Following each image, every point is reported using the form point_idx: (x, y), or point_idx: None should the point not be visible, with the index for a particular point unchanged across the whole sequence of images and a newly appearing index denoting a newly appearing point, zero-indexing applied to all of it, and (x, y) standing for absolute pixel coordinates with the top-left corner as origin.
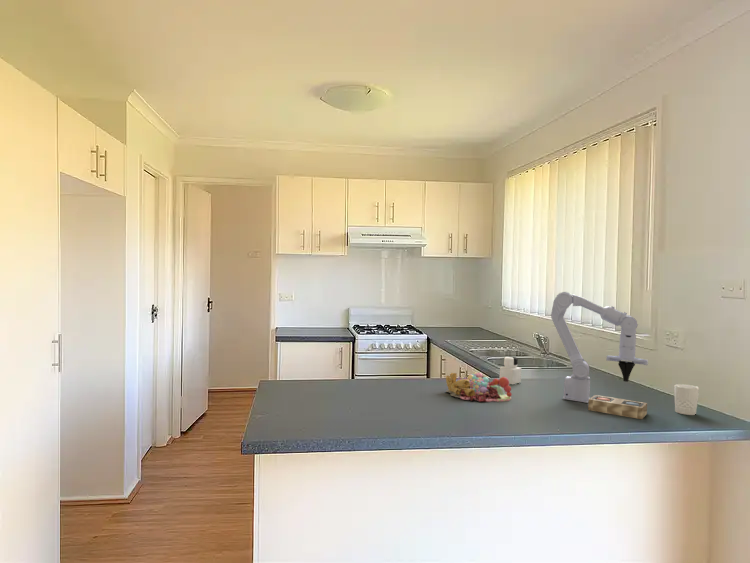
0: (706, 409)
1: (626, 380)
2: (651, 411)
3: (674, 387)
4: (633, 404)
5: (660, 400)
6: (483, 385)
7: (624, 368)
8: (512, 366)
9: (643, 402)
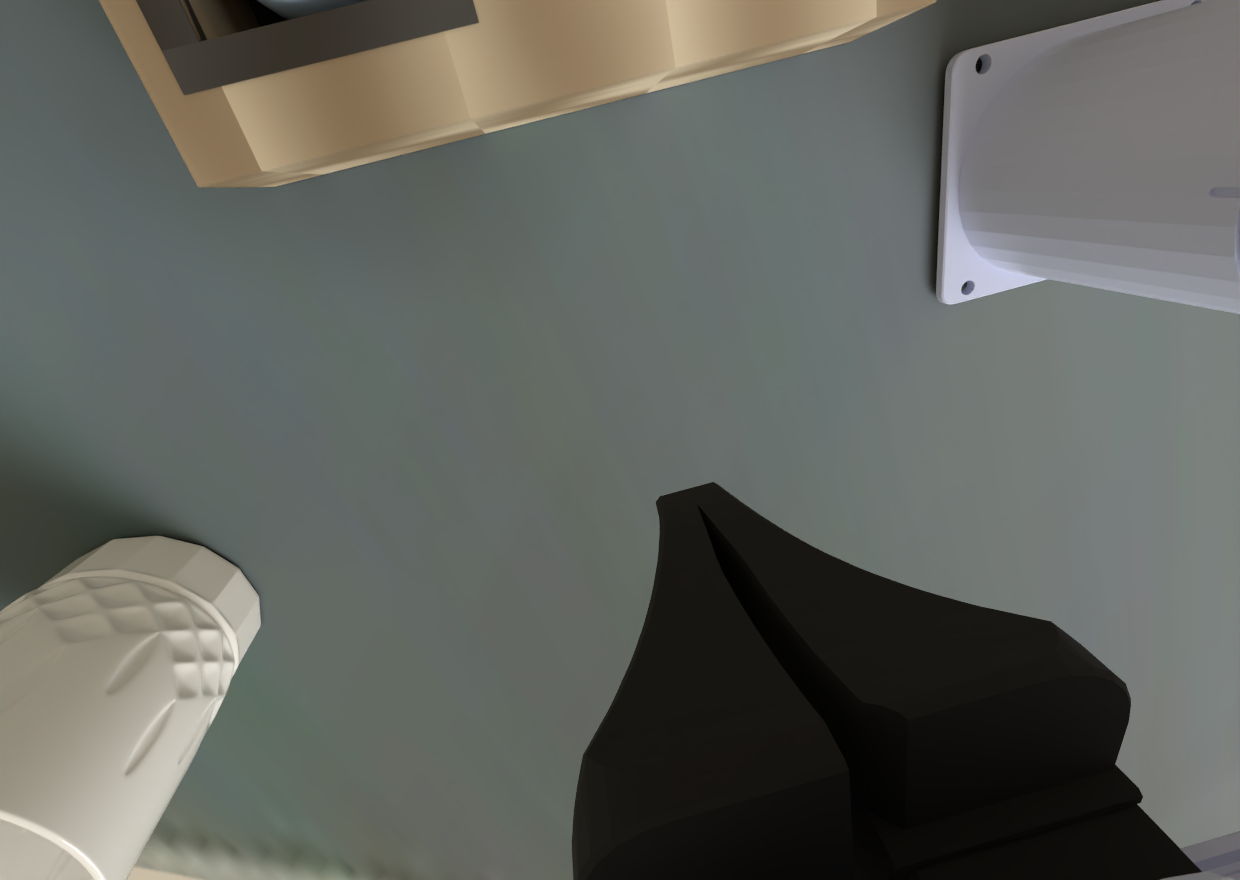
0: (209, 818)
1: (673, 499)
2: (339, 371)
3: (79, 793)
4: None
5: (542, 776)
6: None
7: (808, 627)
8: None
9: (247, 170)
